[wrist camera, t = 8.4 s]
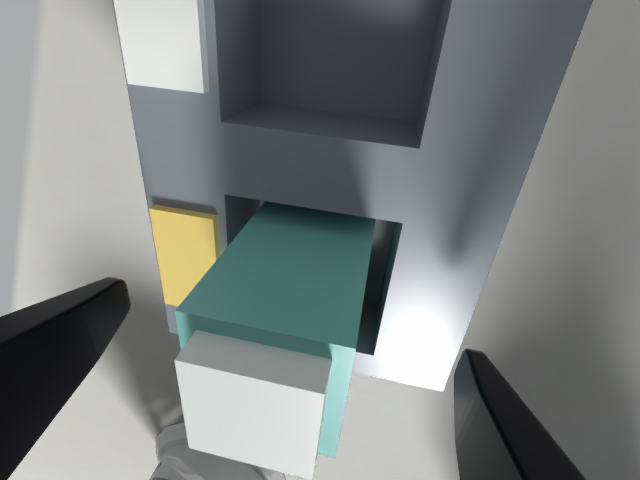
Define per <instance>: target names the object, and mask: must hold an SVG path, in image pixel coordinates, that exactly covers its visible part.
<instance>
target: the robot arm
mask: <svg viewBox="0 0 640 480" xmlns="http://www.w3.org/2000/svg"><path fill="white" fill-rule="evenodd" d="M130 306H131V302H130V297H129V293H128V289H127V285H126V282H125V281H124V280H122V279H118V278H113V277H108V278H105V279H102V280H99V281H97V282H94V283H91V284H88V285H86V286H83V287H80V288H78V289H75V290H72V291H69V292H67V293H64V294H61V295H59V296H56V297H53V298H50V299H48V300H45V301H42V302H40V303H37V304H34V305H31V306H29V307H26V308H23V309H21V310H18V311H15V312H12V313H10V314H7V315H4V316H2V317H0V480H7V479H8V478H9V477H10V475H11V474H12V473H13V472H14V470H15V469H16V468H17V466H18V465H19V464H20V462H21V461H22V460H23V458H24V457H25V456H26V454H27V453H28V452H29V451H30V449H31V448H32V447H33V445H34V444H35V443H36V441H37V440H38V439H39V437H40V436H41V435H42V434H43V432H44V431H45V430H46V428H47V427H48V426H49V424H50V423H51V422H52V420H53V419H54V418H55V417H56V415H57V414H58V413H59V411H60V410H61V409H62V407H63V406H64V405H65V403H66V402H67V401H68V399H69V398H70V397H71V396H72V394H73V393H74V392H75V390H76V389H77V388H78V386H79V385H80V384H81V382H82V381H83V380H84V379H85V377H86V376H87V375H88V373H89V372H90V371H91V369H92V368H93V367H94V365H95V364H96V363H97V361H98V360H99V358H100V357H101V355H102V354H103V352H104V351H105V349H106V348H107V346H108V344H109V343H110V341H111V339H112V338H113V336H114V335H115V333H116V331H117V330H118V328H119V327H120V325H121V323H122V322H123V320H124V319H125V317H126V315H127V314H128V312H129V310H130ZM454 414H455V444H456V454H457V461H458V469H459V476H460V480H586V478H585V477H584V476H583V475H582V473H581V472H580V471H579V470H578V468H577V467H576V466H575V465H574V464H573V462H572V461H571V460H570V459H569V457H568V456H567V455H566V454H565V452H564V451H563V450H562V449H561V448H560V446H559V445H558V444H557V443H556V441H555V440H554V439H553V438H552V436H551V435H550V434H549V433H548V431H547V430H546V429H545V428H544V427H543V425H542V424H541V423H540V422H539V420H538V419H537V418H536V417H535V415H534V414H533V413H532V412H531V410H530V409H529V408H528V407H527V406H526V404H525V403H524V402H523V401H522V399H521V398H520V397H519V396H518V394H517V393H516V392H515V391H514V390H513V388H512V387H511V386H510V385H509V383H508V382H507V381H506V380H505V378H504V377H503V376H502V375H501V373H500V372H499V371H498V370H497V369H496V367H495V366H494V365H493V364H492V362H491V361H490V360H489V359H488V357H487V356H486V355H485V354H484V353H483V352H481V351H476V350H471V349H465V350H464V351H463V353H462V355H461V358H460V360H459V363H458V365H457V368H456V371H455V374H454Z"/></svg>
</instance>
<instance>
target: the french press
mask: <svg viewBox="0 0 640 480" xmlns="http://www.w3.org/2000/svg"><path fill="white" fill-rule="evenodd" d="M156 455H157V460H158V466H157V467H156V469H155V471H154V473H153V474H152V476H151V478H150V480H285V477H284V474H283V473H282V472H278V471H275V470H271V469H267V468H263V467H259V466H256V465H252V464H248V463H244V462H240V461H236V460H233V459H229V458H225V457H221V456H217V455H214V454H210V453H206V452H202V451H198V450H194V449H191V448H189V445H188V439H187V433H186V427H185V422H183V423H179V424H175V425H171V426H167V427H165V428H164V429H163V430H162V431H161V432H160V433H159V435H158V436H157V437H156Z"/></svg>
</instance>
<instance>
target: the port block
mask: <svg viewBox="0 0 640 480" xmlns="http://www.w3.org/2000/svg"><path fill="white" fill-rule="evenodd" d="M112 1H113V7H114V13H115V18H116V24H117V30H118V36H119V42H120V47H121V53H122V59H123V65H124V71H125V77H126V82H127V88H128V94H129V100H130V106H131V112H132V117H133V123H134V129H135V135H136V141H137V147H138V152H139V158H140V164H141V170H142V176H143V182H144V187H145V193H146V199H147V205H148V211H149V216H150V222H151V228H152V234H153V240H154V246H155V251H156V257H157V263H158V269H159V275H160V281H161V286H162V292H163V298H164V304H165V310H166V316H167V321H168V327H169V333H174V334H178V328H177V321H176V315H175V310H176V309H177V308H178V306H179V305H180V304H181V303H182V301H183V300H184V299H185V298H186V297H187V295H188V294H189V293H190V292H191V291H192V289H193V288H194V287H195V286H196V284H197V283H198V282H199V281H200V280H201V278H202V277H203V276H204V275H205V274H206V272H207V271H208V270H209V269H210V267H211V266H212V265H213V264H214V263H215V261H216V260H217V259H218V258H219V257H220V255H221V254H222V253H223V252H224V250H225V249H226V248H227V247H228V246H229V244H230V243H231V242H232V241H233V240H234V238H235V237H236V236H237V235H238V234H239V232H240V231H241V230H242V229H243V227H244V226H245V225H246V224H247V223H248V221H249V220H250V219H251V218H252V217H253V215H254V214H255V213H256V212H257V210H258V209H259V208H260V207H261V206H262V204H263V203H264V202H265V201H268V202H274V203H281V204H287V205H293V206H299V207H305V208H312V209H318V210H324V211H330V212H336V213H343V214H349V215H355V216H361V217H367V218H374V219H376V221H375V228H374V234H373V241H372V247H371V254H370V260H369V267H368V273H367V280H366V287H365V293H364V300H363V306H362V313H361V319H360V326H359V332H358V339H357V345H356V351H355V357H354V362H353V367H352V372H354V373H358V374H363V375H367V376H372V377H377V378H381V379H386V380H390V381H395V382H400V383H404V384H409V385H413V386H418V387H423V388H427V389H432V390H436V391H441V392H443V390H444V388H445V385H446V382H447V380H448V377H449V374H450V372H451V369H452V367H453V364H454V361H455V359H456V356H457V354H458V351H459V348H460V346H461V343H462V341H463V338H464V335H465V333H466V330H467V328H468V325H469V322H470V320H471V317H472V315H473V312H474V309H475V307H476V304H477V301H478V299H479V296H480V294H481V291H482V288H483V286H484V283H485V281H486V278H487V275H488V273H489V270H490V268H491V265H492V262H493V260H494V257H495V255H496V252H497V249H498V247H499V244H500V241H501V239H502V236H503V234H504V231H505V228H506V226H507V223H508V221H509V218H510V215H511V213H512V210H513V208H514V205H515V202H516V200H517V197H518V195H519V192H520V189H521V187H522V184H523V182H524V179H525V176H526V174H527V171H528V168H529V166H530V163H531V161H532V158H533V155H534V153H535V150H536V148H537V145H538V142H539V140H540V137H541V135H542V132H543V129H544V127H545V124H546V122H547V119H548V116H549V114H550V111H551V108H552V106H553V103H554V101H555V98H556V95H557V93H558V90H559V88H560V85H561V82H562V80H563V77H564V75H565V72H566V69H567V67H568V64H569V62H570V59H571V56H572V54H573V51H574V49H575V46H576V43H577V41H578V38H579V35H580V33H581V30H582V28H583V25H584V22H585V20H586V17H587V15H588V12H589V9H590V7H591V4H592V2H593V0H112Z"/></svg>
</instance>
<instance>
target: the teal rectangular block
mask: <svg viewBox="0 0 640 480" xmlns="http://www.w3.org/2000/svg"><path fill="white" fill-rule="evenodd" d="M375 221H376V219H374V218H367V217H361V216H355V215H349V214H343V213H336V212H330V211H324V210H318V209H312V208H305V207H299V206H293V205H287V204H281V203H274V202H268V201H265V202H264V203H263V204H262V206H261V207H260V208H259V209H258V210H257V212H256V213H255V214H254V215H253V217H252V218H251V219H250V220H249V221H248V223H247V224H246V225H245V226H244V227H243V229H242V230H241V231H240V232H239V234H238V235H237V236H236V237H235V238H234V240H233V241H232V242H231V243H230V244H229V246H228V247H227V248H226V249H225V250H224V252H223V253H222V254H221V255H220V257H219V258H218V259H217V260H216V261H215V263H214V264H213V265H212V266H211V267H210V269H209V270H208V271H207V272H206V274H205V275H204V276H203V277H202V278H201V280H200V281H199V282H198V283H197V284H196V286H195V287H194V288H193V289H192V291H191V292H190V293H189V294H188V295H187V297H186V298H185V299H184V300H183V301H182V303H181V304H180V305H179V306H178V308H177V309H176V310H175V315H176V321H177V328H178V335H179V341H180V348H181V351H180V353H179V354H178V356H177V357H176V358H175V360H174V361H175V367H176V373H177V379H178V385H179V391H180V397H181V403H182V409H183V415H184V421H185V427H186V433H187V439H188V445H189V448H191V449H194V450H198V451H202V452H206V453H210V454H214V455H217V456H221V457H225V458H229V459H233V460H236V461H240V462H244V463H248V464H252V465H256V466H259V467H263V468H267V469H271V470H275V471H278V472H282V473H286V474H290V475H294V476H298V477H301V478H305V479H309V480H313V476H314V471H315V466H316V461H317V456H318V454H321V455H325V456H329V457H332V458H335V457H336V451H337V446H338V441H339V436H340V430H341V425H342V420H343V415H344V409H345V404H346V399H347V393H348V388H349V383H350V378H351V372H352V367H353V362H354V357H355V351H356V345H357V339H358V332H359V326H360V319H361V313H362V306H363V300H364V293H365V287H366V280H367V273H368V267H369V260H370V254H371V247H372V241H373V234H374V228H375Z"/></svg>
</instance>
